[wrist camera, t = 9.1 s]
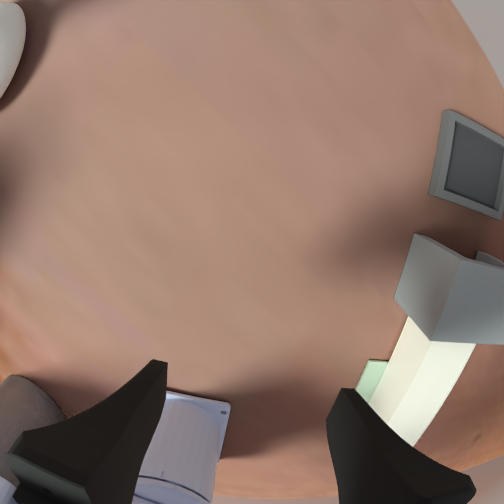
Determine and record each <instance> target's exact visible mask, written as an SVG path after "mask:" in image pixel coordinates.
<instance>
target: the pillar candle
mask: <svg viewBox="0 0 504 504" xmlns="http://www.w3.org/2000/svg"><path fill="white" fill-rule="evenodd" d="M64 420H66V418H65V416H64V414H63V412H62V411H61V409H60V408H59V406H58V405H57V404H56V403H55V402H54V400H53V399H52V398H51V397H50V396H48V394H47V393H46V392H44V391H43V390H42V389H41V388H40V387H38V386H37V385H36V384H34V383H33V382H31V381H30V380H28V379H26V378H23V377H21V376H18V375H11V376H9V377H7V378H6V379H5V380H4V381H3V382H2V383H1V384H0V476H1V477H2V478H4V479H6V480H7V481H9V482H10V483H11V484H13V485H14V486H15V487H16V488H17V487H18V485H19V484H20V482H19V480H18V479H17V477H16V476H15V474H14V473H13V472H12V470H11V469H10V467H9V465H8V463H7V461H6V457H5V455H6V454H7V452H8V451H9V449H10V448H11V446H12V445H13V443H14V442H15V440H16V439H17V438H18V436H19V435H20V434H21V433H22V432H23V431H27V430H32V429H36V428H41V427H45V426H49V425H52V424H55V423H58V422H61V421H64Z"/></svg>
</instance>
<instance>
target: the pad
mask: <svg viewBox="0 0 504 504" xmlns="http://www.w3.org/2000/svg"><path fill="white" fill-rule="evenodd" d="M388 362H389V361H379V360H368V362H367V365H366V367H365V369H364V371H363V374H362V376H361V378H360V380H359V382H358V384H357V386H356V389H355V390H356V391H357V392H358V393H359V394H360V395H361V396H362V397H363V399H364V400H365V401H366V402H367V403H369V401H370V399H371V397H372V395H373V393H374V391H375V389H376V387H377V385H378V383H379V381H380V379H381V377H382V375H383V373H384V371H385V369H386V367H387V365H388Z"/></svg>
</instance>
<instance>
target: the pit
mask: <svg viewBox="0 0 504 504" xmlns="http://www.w3.org/2000/svg"><path fill="white" fill-rule="evenodd" d="M428 194H429V195H432V196H435V197H438V198H441V199H444V200H447V201H450V202H453V203H455V204H458V205H461V206H464V207H466V208H469V209H472V210H474V211H477V212H479V213H482V214H485V215H487V216H490V217H492V218H495V219H498V220H500V221H501V220H502V216H503V212H504V139H503V138H502V137H500V136H498V135H497V134H495V133H493V132H492V131H490V130H488V129H486V128H485V127H483V126H481V125H479V124H477V123H475V122H474V121H472V120H470V119H468V118H466V117H464V116H462V115H460V114H458V113H456V112H454V111H452V110H445V111H442V119H441V126H440V133H439V139H438V146H437V152H436V157H435V163H434V168H433V173H432V178H431V183H430V187H429V192H428Z"/></svg>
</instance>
